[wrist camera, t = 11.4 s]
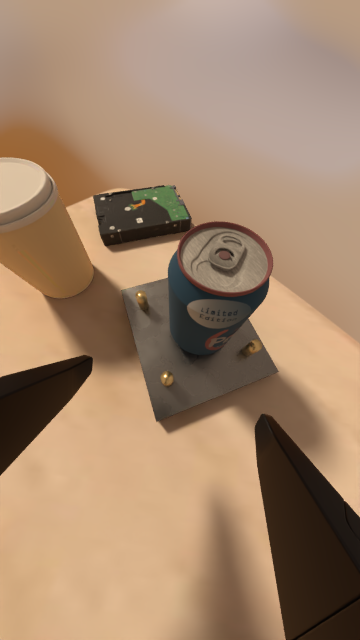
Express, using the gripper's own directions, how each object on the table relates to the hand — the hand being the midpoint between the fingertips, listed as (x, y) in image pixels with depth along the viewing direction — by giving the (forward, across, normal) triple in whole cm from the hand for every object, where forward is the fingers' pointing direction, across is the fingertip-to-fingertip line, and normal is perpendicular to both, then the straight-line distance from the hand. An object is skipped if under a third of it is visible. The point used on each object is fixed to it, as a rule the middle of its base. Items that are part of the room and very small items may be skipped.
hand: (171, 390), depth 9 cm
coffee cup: (+16, +20, +1) cm, 25 cm away
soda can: (+13, -1, +2) cm, 13 cm away
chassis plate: (+14, 0, +2) cm, 14 cm away
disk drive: (+27, +14, -10) cm, 32 cm away
